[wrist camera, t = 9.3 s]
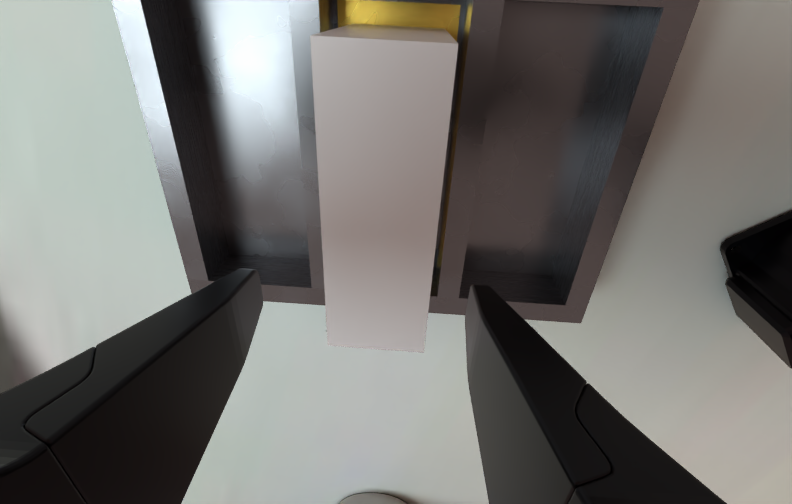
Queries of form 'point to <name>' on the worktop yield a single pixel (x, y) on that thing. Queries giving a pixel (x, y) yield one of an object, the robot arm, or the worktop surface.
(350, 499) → the beer can
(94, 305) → the worktop surface
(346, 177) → the tall white block
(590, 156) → the grey divided tray
